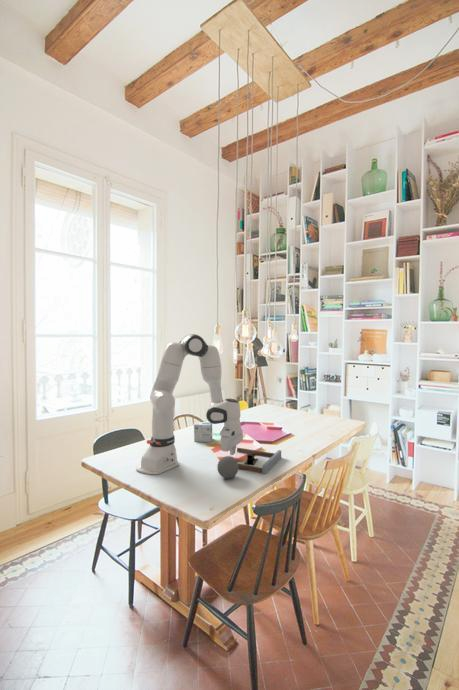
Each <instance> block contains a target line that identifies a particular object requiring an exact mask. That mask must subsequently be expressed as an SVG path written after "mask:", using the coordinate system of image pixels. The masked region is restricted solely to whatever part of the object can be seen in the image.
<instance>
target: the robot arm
mask: <svg viewBox="0 0 459 690" xmlns="http://www.w3.org/2000/svg"><path fill="white" fill-rule="evenodd" d="M188 355H190V356H193V357H198V360H199V365H200V373H201V376H202V380H203V381H204V382H206V383H207V385H208V387H209V395H210V399H211V400H210V406H209V408H208V409H207V410H206V414H205V416H206V420H207V421H208V422H210V423H212V425H217V424H223V427H222V429H221V431H220V432H219V436H220V449H221V451H222V452H226V453H228V452H229V455H230V456H233V455H235V454H236V451H237V445H238V444H241V443H242V442H243V439H244V434H243V432H244V431H243V429H242V426H241V424H242V423H241V419H240V418H241V407H240V406H241V405H240V402H239V401H238V400H237V399H236V398H235V399H234V398H225V399H223V394H222V386H221V385H222V382H221V381H222V363H221V357H220V352H219V349H218V348H217V347H216V346H214V345H209V344H207V342H206V341H205V340H204V338H203V337H202V336H201V335H199V334H195V333H191V334H190V333H189V334H187V335H185V336H184V337H183V338H182V339H181V340H180V341H179V342H176V341H175V342H169V343H168V344H167V346H166V348H165V350H164V352H163V355H162V357H161V361H160V365H159V368H158V372H157V376H156V378H155V381H154V383H153V387H152V389H151V392H150V397H149V400H150V402H151V405H152V418H151V437H150V439H147V440H146V444H147V445H149V446H148V447H147V449H146V451H145V452H144V454H143V455H142V457H141V460H140V464H139V465H138V466H137V467H136V468H135V469H136V471H137V472H139V473H141V474H146V475H159V474H162V473H165V472H167V471H169V470H171V469H173V468H176V467H178V466H179V465H180V462H179V461H178V455H177V449H176V446H175V439H176V438H175V433H174V417H175V408H176V407H175V404H176V400H175V396H174V395H173V393H174V390H175V388H176V385H177V383H178V381H179V378H180V375H181V371H182V368H183V363H184V360H185V358H186V357H187V356H188Z"/></svg>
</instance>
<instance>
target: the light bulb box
mask: <svg viewBox="0 0 459 690" xmlns="http://www.w3.org/2000/svg"><path fill="white" fill-rule="evenodd" d="M193 436H194V437H193V441H194V442H198V443H199V442H201V443H202V442H203V443H211V442H212V440H213V424H212V423H210V422H209V421H208V422H207V421H204V422H203V421H202V422H201V421H195V423H194V424H193Z"/></svg>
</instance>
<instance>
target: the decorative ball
mask: <svg viewBox="0 0 459 690" xmlns="http://www.w3.org/2000/svg"><path fill="white" fill-rule="evenodd" d="M238 464H239V463H238V460H237V459H235V458H234V457H232V456H231V455H230V456H229V455H226V456H223V457H222V458H220V460H219V461H218V462H217V466H216V467H217V473H218V474H219V476H221V477H222V478H223V479H226V480H227V479H232V478H235V476H237V474H238V472H239V470H240V469H239V466H238Z"/></svg>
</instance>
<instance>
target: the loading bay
mask: <svg viewBox="0 0 459 690" xmlns="http://www.w3.org/2000/svg"><path fill="white" fill-rule="evenodd" d="M236 452H237V453H242V454H247V455H248V454H249V453H254V456H260V457H266V458H268V460H266V461H265V463H263V464H262V466H261V467H258V466H255V465H246V464H244V463H243V464H241V463H238V466H239V469H238V470H243V471H248V472H253V473H259V474H263V475H267V473H269V471H270V470H271V469H273V467H274V466H275V465H276V464H277V463H278V462H279V461H280V459H282V450H280V449H279V450H277V451H276V452H270V451H269V452H268V451H261V450H256V449H250V448H243V447H236Z"/></svg>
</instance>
